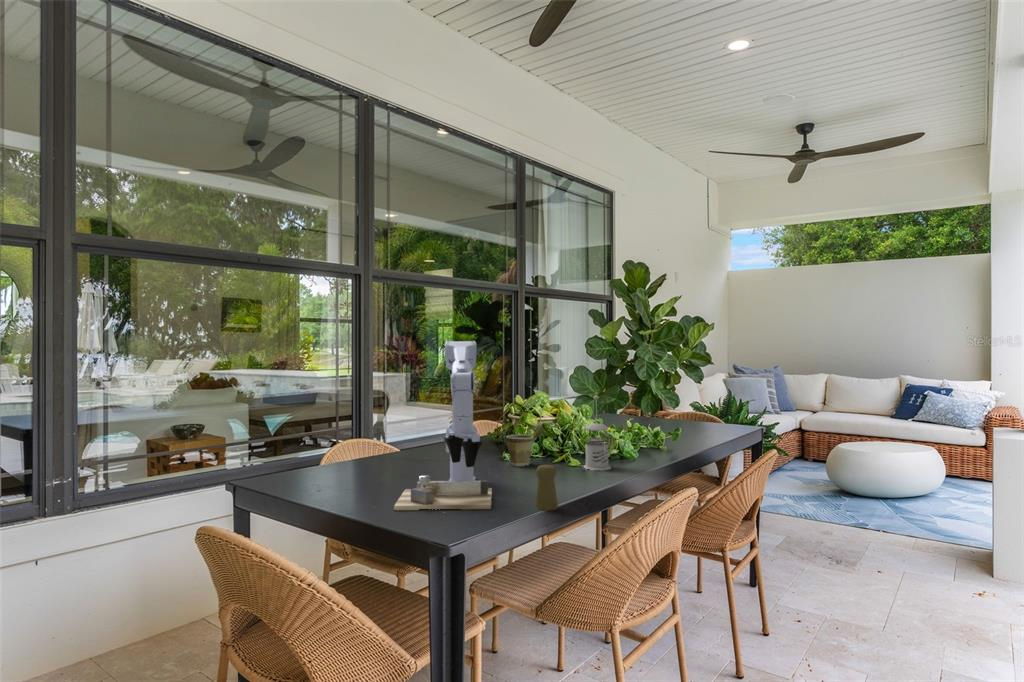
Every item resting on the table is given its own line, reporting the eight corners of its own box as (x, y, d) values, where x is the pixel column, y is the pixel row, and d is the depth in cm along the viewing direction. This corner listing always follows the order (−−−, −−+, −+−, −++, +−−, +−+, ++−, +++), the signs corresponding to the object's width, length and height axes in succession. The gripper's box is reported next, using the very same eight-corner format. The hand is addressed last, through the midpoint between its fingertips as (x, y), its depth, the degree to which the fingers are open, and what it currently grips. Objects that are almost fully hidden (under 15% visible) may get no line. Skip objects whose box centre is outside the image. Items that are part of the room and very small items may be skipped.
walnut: (424, 498, 164) (424, 484, 164) (437, 497, 164) (437, 484, 164) (422, 501, 161) (422, 487, 161) (436, 501, 161) (435, 487, 161)
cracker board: (405, 493, 175) (405, 489, 175) (491, 492, 175) (491, 488, 175) (394, 510, 157) (394, 505, 157) (490, 509, 157) (490, 504, 157)
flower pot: (534, 467, 211) (534, 438, 211) (505, 467, 211) (505, 438, 211) (533, 460, 224) (533, 433, 224) (506, 460, 224) (506, 433, 224)
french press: (576, 466, 211) (576, 395, 211) (602, 463, 217) (601, 393, 217) (595, 471, 202) (594, 396, 203) (621, 467, 209) (620, 395, 209)
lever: (416, 495, 166) (416, 477, 166) (418, 492, 169) (418, 475, 169) (487, 494, 167) (487, 476, 167) (488, 491, 169) (487, 474, 169)
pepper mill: (544, 503, 163) (543, 462, 163) (562, 506, 159) (562, 464, 159) (530, 508, 158) (529, 465, 158) (549, 511, 154) (548, 468, 154)
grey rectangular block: (417, 499, 163) (417, 487, 163) (433, 502, 159) (432, 490, 159) (410, 501, 161) (410, 489, 161) (426, 504, 157) (426, 492, 157)
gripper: (437, 414, 171) (437, 462, 171) (463, 419, 160) (464, 470, 160) (458, 412, 175) (459, 459, 175) (486, 417, 164) (486, 467, 164)
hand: (463, 464), depth 168 cm, fingers open, 7 cm apart
